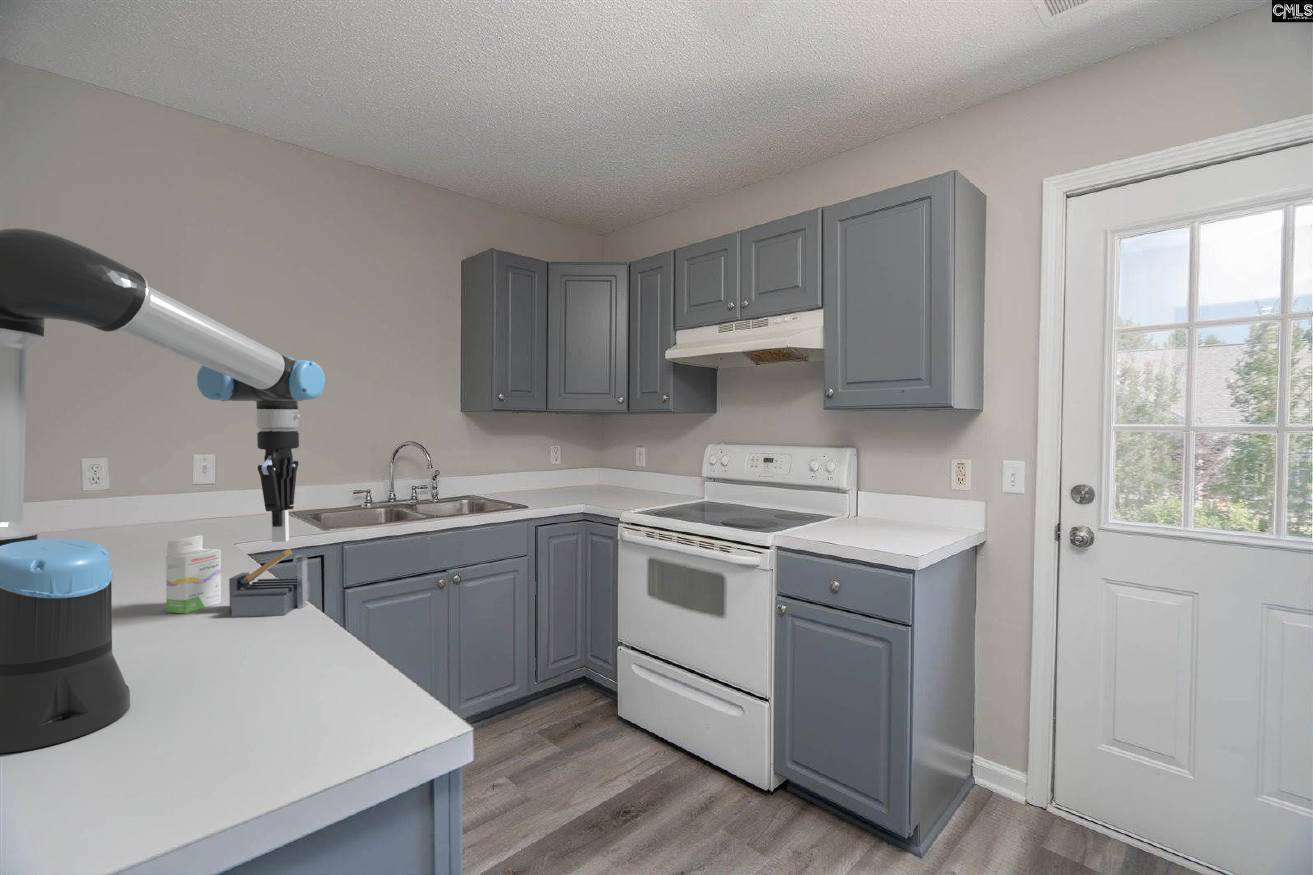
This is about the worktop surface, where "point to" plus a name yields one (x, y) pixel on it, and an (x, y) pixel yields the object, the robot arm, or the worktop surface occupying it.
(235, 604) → the heatsink
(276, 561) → the strap
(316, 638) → the worktop surface
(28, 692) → the robot arm
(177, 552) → the ink box
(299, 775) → the worktop surface
